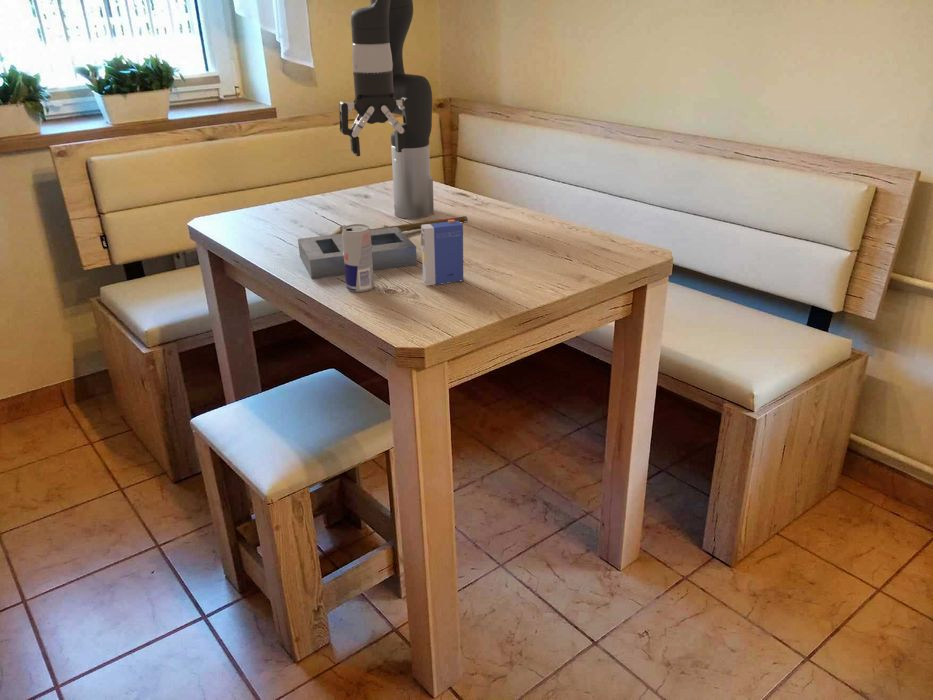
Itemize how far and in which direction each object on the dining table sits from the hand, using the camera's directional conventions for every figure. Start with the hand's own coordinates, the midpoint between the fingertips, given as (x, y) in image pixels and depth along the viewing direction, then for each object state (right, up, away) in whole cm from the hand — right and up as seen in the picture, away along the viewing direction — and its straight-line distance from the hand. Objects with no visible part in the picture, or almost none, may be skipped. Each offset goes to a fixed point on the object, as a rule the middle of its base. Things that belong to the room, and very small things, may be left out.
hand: (378, 153), depth 151 cm
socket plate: (-5, -21, +8) cm, 23 cm away
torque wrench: (+3, -13, +24) cm, 28 cm away
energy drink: (-3, -28, -5) cm, 28 cm away
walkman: (+13, -26, -3) cm, 30 cm away
